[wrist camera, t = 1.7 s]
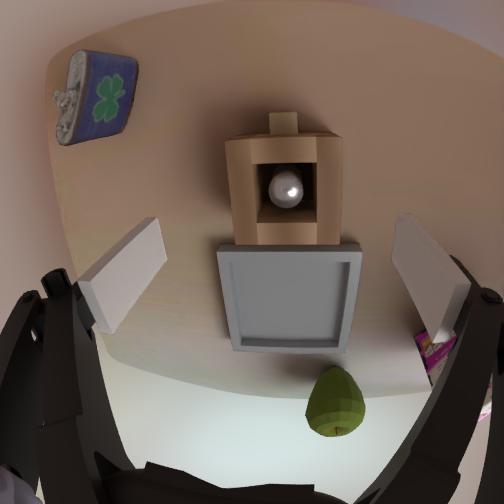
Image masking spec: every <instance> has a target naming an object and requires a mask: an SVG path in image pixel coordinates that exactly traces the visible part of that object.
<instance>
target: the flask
mask: <svg viewBox="0 0 504 504" xmlns="http://www.w3.org/2000/svg"><path fill="white" fill-rule="evenodd" d="M138 70H139V69H138V62H137V61H136V60H135V59H134V58H131V57H126V56H120V55H115V54H109V53H103V52H97V51H91V50H79V51H77V52H76V53H75V54H74V55H72V57H71V60H70V63H69V70H68V78H67V84H66V90H65V92H61V93H60V92H59V90H56V91H55V93H54V95H53V97H52V100H54V98H55V97H57V101H56V104H57V106H59V105H60V107H61V109H62V110H61V115H60V118H59V122H58V124H57V126H56V137H57V139H58V142H59V144H60V145H63V146H69V145H73V144H77V143H81V142H85V141H88V140H93V139H97V138H102V137H108V136H112V135H116V134H119V133H122V131H123V130H124V128H125V126H126V124H127V121H128V118H129V115H130V112H131V110H132V106H133V101H134V94H135V90H136V89H135V88H136V85H137V78H138V72H139V71H138Z"/></svg>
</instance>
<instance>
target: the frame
mask: <svg viewBox="0 0 504 504" xmlns="http://www.w3.org/2000/svg"><path fill="white" fill-rule="evenodd" d="M269 125H270V133H264V134H248V135H238V136H236V137H233V138H231V139H228V140H226V141H224V142H225V152H226V162H227V171H228V181H229V190H230V200H231V209H232V218H233V227H234V236H235V245H340V229H341V208H342V137H340V136H338V135H336V134H334V133H332V132H298V121H297V112H278V113H269ZM298 162H312V166H313V201H300V202H299V203H298V204H297V205H296V206H294V207H291V208H281V207H279V206H277V205H275V204H274V203H273V202H272V201H264V191H263V176H262V163H298Z"/></svg>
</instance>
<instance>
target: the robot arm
mask: <svg viewBox="0 0 504 504" xmlns="http://www.w3.org/2000/svg"><path fill="white" fill-rule="evenodd" d="M391 260H392V262H393V263H394V265H395V267H396V269H397V271H398V273H399V274H400V276H401V278H402V280H403V282H404V284H405V286H406V288H407V290H408V292H409V294H410V296H411V298H412V300H413V302H414V304H415V306H416V308H417V310H418V312H419V314H420V316H421V318H422V321H423V323H424V325H425V327H426V329H427V332H428V334H429V336H430V338H431V341H432V343H439V342H446V341H448V340H449V338H450V336H451V333H452V331H453V330H454V332H455V334H456V336H457V337H456V339H455V341H454V343H453V345H452V347H451V349H450V351H449V353H448V355H447V357H448V358H447V361H446V363H445V365H444V367H443V370H442V372H441V374H440V376H439V378H438V380H437V383H436V385H435V387H434V389H433V391H432V393H431V395H430V397H429V398H428V400H427V402H426V404H425V406H424V408H423V410H422V411H421V413H420V415H419V417H418V419H417V420H416V422H415V424H414V425H413V427H412V429H411V430H410V432H409V433H408V435H407V437H406V438H405V440H404V441H403V443H402V444H401V446H400V447H399V449H398V450H397V452H396V453H395V454H394V456H393V457H392V459H391V460H390V462H389V463H388V464H387V466H386V467H385V468H384V470H383V471H382V472H381V473H380V475H379V476H378V477H377V479H376V480H375V481H374V482H373V483H372V484H371V485H370V486H369V487H368V488H367V489H366V491H364V493H363V494H362V495H361V496H360V497H359V498H358V499H357V500H356V501H355V502H354V503H353V504H448V502H449V501H450V499H451V497H452V496H453V494H454V492H455V490H456V488H457V486H458V484H459V481H460V476H461V475H460V473H459V472H458V467H459V465H460V462H461V460H462V458H463V456H464V454H465V451H466V449H467V447H468V444H469V442H470V440H471V437H472V434H473V432H474V430H475V427H476V424H477V422H478V419H479V416H480V413H481V410H482V407H483V404H484V401H485V397H486V394H487V390H488V387H489V383H490V379H491V375H492V405H491V420H490V430H489V437H488V445H487V451H486V457H485V463H484V467H483V472H482V477H481V481H480V485H479V489H478V493H477V496H476V499H475V503H474V504H504V303H503V299H502V298H501V296H500V295H499V294H498V293H497V292H495V291H494V290H492V289H489V288H481V287H480V285H479V284H478V283H477V282H476V280H475V279H474V278H473V277H472V275H471V274H470V273H469V272H468V270H467V269H466V268H464V266H463V265H462V263H461V262H460V261H459V260H458V259H456V258H455V257H453V256H452V255H448V254H447V253H446V252H445V250H444V249H443V248H442V247H441V246H440V245H439V244H438V243H437V241H436V240H435V239H434V238H433V237H432V236H431V235H430V234H429V233H428V232H427V230H426V229H425V228H424V227H423V226H422V225H421V224H420V223H419V222H418V221H417V220H416V219H415V218H414V217H413V216H412V215H411V214H410V213H398V215H397V223H396V230H395V237H394V244H393V250H392V256H391ZM166 261H167V256H166V252H165V248H164V244H163V239H162V235H161V230H160V226H159V221H158V217H151V218H146V219H144V220H143V221H142V222H141V223H140V224H138V225H137V226H136V227H135V228H134V229H133V230H131V231H130V232H129V233H128V234H127V235H126V236H124V237H123V238H122V239H121V240H120V241H119V242H118V243H117V244H115V245H114V246H113V247H112V248H111V249H110V250H109V251H108V252H107V253H105V254H104V255H103V256H102V257H101V258H100V259H99V260H98V261H97V262H96V263H95V264H94V265H93V266H92V267H90V268H89V269H88V270H87V271H86V272H85V273H84V274H83V275H82V276H81V277H80V278H79V279H78V280H77V281H76V282H75V283H74V284H73V285H71V282H70V280H69V278H68V275H67V273H66V270H65V269H63V268H59V269H55V270H53V271H51V272H49V273H47V274H46V275H45V276H44V277H43V278H42V279H41V283H42V285H43V287H44V289H45V292H46V293H47V296H48V298H44V299H41V297H40V295H39V293H38V291H37V290H31V291H27V292H26V293H24V294H23V295H22V296H21V297H20V298H19V300H18V301H17V303H16V305H15V307H14V309H13V310H12V312H11V314H10V316H9V318H8V320H7V322H6V324H5V326H4V328H3V330H2V332H1V334H0V504H43V503H42V501H41V500H40V499H39V498H38V497H36V496H35V495H36V491H37V486H38V480H39V477H40V482H41V487H42V491H43V496H44V500H45V504H348V503H346V502H344V501H342V500H340V499H338V498H336V497H334V496H331V495H328V494H324V493H321V492H316V491H314V484H310V485H307V484H306V485H296V484H265V485H257V486H249V487H239V488H220V487H218V486H215V485H213V484H211V483H208V482H206V481H204V480H201V479H199V478H197V477H195V476H193V475H191V474H188V473H186V472H184V471H181V470H177V469H173V468H169V467H165V466H162V465H158V464H155V463H151V462H148V461H147V463H146V465H145V468H144V469H136V468H135V467H134V465H133V464H132V463H131V461H130V460H129V458H128V457H127V455H126V453H125V450H124V447H123V444H122V442H121V439H120V436H119V433H118V430H117V427H116V424H115V420H114V417H113V414H112V411H111V407H110V403H109V400H108V396H107V392H106V388H105V384H104V379H103V375H102V371H101V366H100V362H99V356H98V351H97V345H96V340H95V334H94V332H93V330H92V328H91V327H92V326H93V324H94V323H95V322H96V324H97V326H98V328H99V330H100V332H103V333H108V334H114V333H115V331H116V330H117V328H118V327H119V325H120V324H121V322H122V321H123V319H124V318H125V317H126V315H127V314H128V312H129V311H130V310H131V308H132V307H133V305H134V304H135V302H136V301H137V300H138V298H139V297H140V296H141V294H142V293H143V291H144V290H145V289H146V287H147V286H148V285H149V283H150V282H151V281H152V279H153V278H154V276H155V275H156V274H157V272H158V271H159V270H160V269H161V267H162V266H163V265H164V263H165V262H166ZM31 330H32V331H33V333H34V335H35V336H36V340H35V341H34V340H33V337H32V333H31ZM43 424H44V425H43Z"/></svg>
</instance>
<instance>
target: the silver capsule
mask: <svg viewBox="0 0 504 504" xmlns="http://www.w3.org/2000/svg"><path fill="white" fill-rule="evenodd" d="M269 197H270V199H271V201H272V202H273V203H274V204H275V205H277V206H279V207H281V208H291V207H294V206H296V205H297V204H298V203H299V202H300V201H301V199H302V197H303V185H302V175H301V172H300V170H299V169H298V168H297V167H296V166H295V165H293V164H288V163H287V164H282V165H280V166H279V167H277V169H276V170H275V172H274V175H273V177H272V180H271V183H270V186H269Z"/></svg>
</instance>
